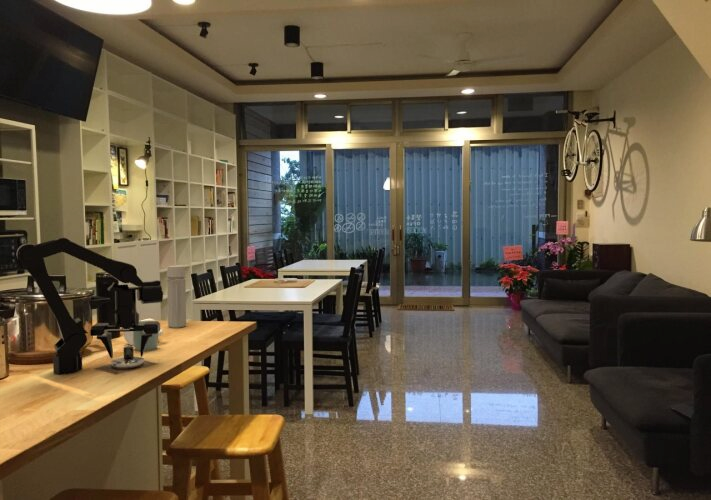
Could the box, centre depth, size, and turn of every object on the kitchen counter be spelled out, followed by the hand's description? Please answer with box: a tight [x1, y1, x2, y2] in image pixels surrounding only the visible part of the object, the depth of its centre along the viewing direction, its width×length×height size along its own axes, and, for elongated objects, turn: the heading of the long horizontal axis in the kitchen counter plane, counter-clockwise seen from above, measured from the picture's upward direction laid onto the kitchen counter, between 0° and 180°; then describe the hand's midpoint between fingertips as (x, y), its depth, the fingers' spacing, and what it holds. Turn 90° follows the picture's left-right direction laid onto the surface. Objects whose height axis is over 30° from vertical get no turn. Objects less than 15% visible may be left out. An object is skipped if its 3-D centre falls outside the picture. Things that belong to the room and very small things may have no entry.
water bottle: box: [165, 265, 187, 329], centre depth 230 cm, size 9×8×25 cm
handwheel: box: [110, 345, 145, 369], centre depth 164 cm, size 9×9×4 cm
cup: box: [133, 320, 159, 352], centre depth 187 cm, size 8×8×10 cm
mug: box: [123, 318, 164, 347], centre depth 201 cm, size 12×10×8 cm
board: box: [93, 359, 159, 375], centre depth 165 cm, size 14×11×1 cm
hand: (126, 357), depth 167 cm, fingers open, 8 cm apart
